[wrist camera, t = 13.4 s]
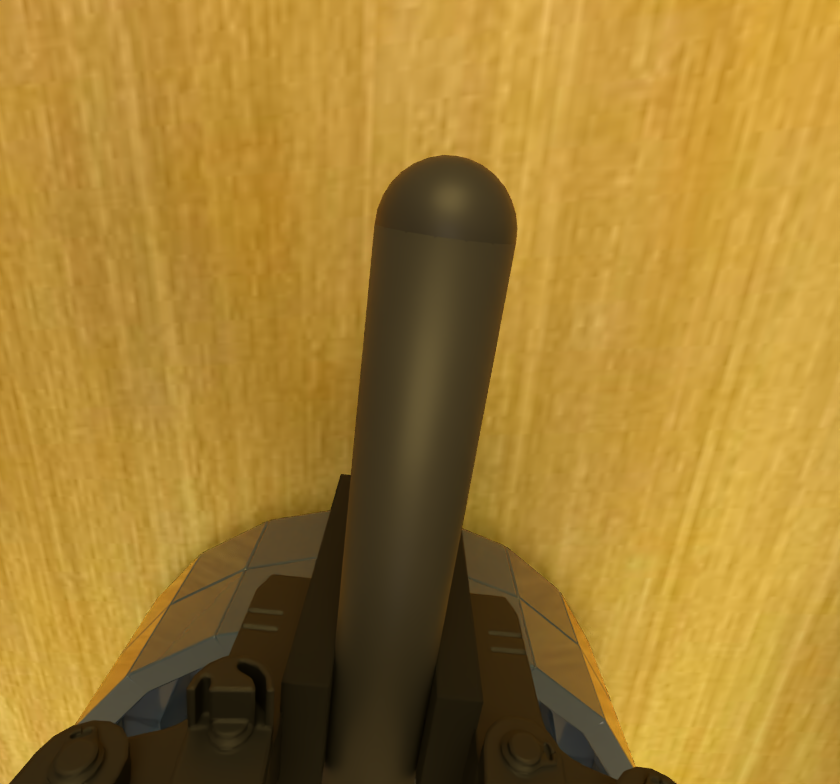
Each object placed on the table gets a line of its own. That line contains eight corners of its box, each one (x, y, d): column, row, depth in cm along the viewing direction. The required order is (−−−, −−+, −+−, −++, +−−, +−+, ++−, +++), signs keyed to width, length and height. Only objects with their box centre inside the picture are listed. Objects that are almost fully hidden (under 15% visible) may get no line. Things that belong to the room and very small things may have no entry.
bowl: (134, 469, 18) (10, 588, 13) (638, 525, 19) (727, 660, 14) (159, 803, 25) (85, 979, 19) (535, 834, 26) (567, 1010, 20)
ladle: (429, 785, 22) (441, 1119, 14) (276, 775, 21) (199, 1115, 13) (551, 194, 13) (753, 192, 6) (305, 159, 13) (151, 105, 5)
